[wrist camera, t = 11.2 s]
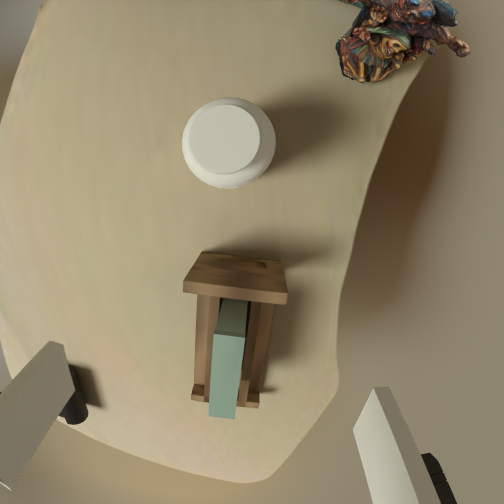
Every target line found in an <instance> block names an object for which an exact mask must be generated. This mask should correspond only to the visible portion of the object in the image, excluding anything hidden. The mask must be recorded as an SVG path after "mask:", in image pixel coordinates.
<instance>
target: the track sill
mask: <svg viewBox="0 0 504 504" xmlns="http://www.w3.org/2000/svg"><path fill="white" fill-rule="evenodd" d="M183 292H186V293H193V294H198V297H197V316H196V339H195V370H194V386H193V390H192V394H191V400H195V401H201V402H208V403H209V397H210V380H211V365H212V350H213V336H214V331H215V329H216V325H217V321H218V317H219V313H220V309H221V306H222V302H223V298H231V299H239V300H247V301H248V304H247V316H246V328H245V343H244V351H243V358H242V366H241V373H240V381H239V388H238V396H237V403H236V406H239V407H248V408H258V407H259V391H260V386H261V381H262V376H263V370H264V365H265V359H266V354H267V348H268V342H269V337H270V331H271V325H272V319H273V313H274V307H275V304H282V305H286V302H287V296H288V291H287V287H286V282H285V277H284V273H283V268H282V264H281V261H273V260H264V259H256V258H248V257H240V256H231V255H223V254H215V253H207V252H201V254H200V255H199V257H198V258H197V260H196V262H195V263H194V265H193V266H192V268H191V269H190V271H189V273H188V274H187V276H186V277H185V279H184V280H183Z"/></svg>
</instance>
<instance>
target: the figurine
mask: <svg viewBox="0 0 504 504" xmlns="http://www.w3.org/2000/svg"><path fill="white" fill-rule="evenodd" d="M341 1H342V2H344V3H346V4H350V3H351V2H353V3H354V4H356V3H358V2H360V3H362V4H364V6H363V7H362V9H361V11H360V13H359V15H358V16H357V17H356V19H355V21H354V22H353V25H352V28H351V29H350V30H349V31H348V32H347V33H346V34H345V35H344V36H345V37H344V36H343V37H341V40H338V42H337V43H336V50H337V52H338V55H339V59H340V66H341V69H342V75H343V76H345V77H349V78H350V79H352V80H354V79H356V80H357V81H359V82H361V83H364V82H365V81H366V82H375V81H380V80H382V79H383V78H384V77H386V76H387V75H388V74H389V73H390V72H393V71H394V70H396V71H397V70H398V69H399V68H400V64H401V63H402V64H404V63H406V62H408V61H411V60H416V59H417V57H419V55H421V54H422V53H423V51H424V52H425V51H427V52H428V54H430V55H435V52H436V49H435V48H434V46H432V45H431V44H430V41H429V39H432V40H435V41H436V43H437V45H441V44H447V45H448V46H449V48H451V49H452V50H453V51H454V52H456V55H457V56H459V57H465V56H467V55H468V54H469V53H470V51H471V50H470V48H469V46H468V45H467V44H466V43H465V42H463V41H462V40H460V39H457V38H456V37H454V36H453V37H452V35H451V33H450V32H449V31H448V28H446V27H445V26H449V27H454V26H456V25H457V23H458V22H457V21H456V20H455V15H456V13H457V11H456V10H455V9H453V7H452V6H450V4H447V3H446V2H444V1H443V0H341ZM394 57H395V60H391V59H392V58H394Z"/></svg>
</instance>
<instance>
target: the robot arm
mask: <svg viewBox="0 0 504 504" xmlns="http://www.w3.org/2000/svg"><path fill="white" fill-rule="evenodd" d="M74 391H75V388H74V385H73V381H72V378H71V374H70V370H69V367H68V363H67V359H66V355H65V351H64V346H63V344H59V343H56V342H53V341H49V342H48V343H47V344H46V345H45V346H44V347H43V348H42V349H41V350H40V351H39V352H38V353H37V354H36V355H35V356H34V358H33V359H32V360H31V361H30V362H29V363H28V364H27V365H26V366H25V367H24V368H23V369H22V370H21V371H20V373H19V374H18V375H17V376H16V377H15V378H14V379H13V380H12V381H11V382H10V384H9V385H8V386H7V387H6V388H5V389H4V390H3V391H2V392H0V484H2V485H3V486H5V487H6V488H8V489H10V490H11V491H12V490H13V488H14V487H15V485H16V483H17V481H18V480H19V478H20V476H21V474H22V473H23V471H24V469H25V468H26V466H27V464H28V463H29V461H30V459H31V458H32V456H33V454H34V453H35V451H36V450H37V448H38V446H39V445H40V443H41V441H42V440H43V438H44V437H45V435H46V434H47V432H48V431H49V429H50V427H51V426H52V424H53V423H54V421H55V420H56V418H57V417H58V415H59V414H60V412H61V411H62V409H63V408H64V406H65V405H66V403H67V402H68V400H69V399H70V397H71V396H72V394H73V393H74ZM353 432H354V435H355V438H356V442H357V445H358V449H359V453H360V456H361V460H362V463H363V467H364V471H365V474H366V478H367V482H368V486H369V490H370V493H371V497H372V501H373V504H457V503H456V500H455V498H454V495H453V493H452V491H451V488H450V486H449V484H448V482H447V481H446V477H445V475H444V473H443V470H442V468H441V466H440V464H439V462H438V461H437V459H436V458H435V457H434V456H433V455H432V454H431V453H426V454H421V455H420V452H419V450H418V448H417V445H416V443H415V441H414V439H413V437H412V435H411V432H410V430H409V428H408V426H407V424H406V421H405V419H404V417H403V415H402V413H401V411H400V409H399V407H398V405H397V402H396V400H395V398H394V396H393V394H392V392H391V390H390V388H389V387H374V388H373V389H372V391H371V394H370V396H369V398H368V400H367V402H366V404H365V406H364V408H363V410H362V413H361V415H360V417H359V419H358V421H357V423H356V425H355V426H354V428H353Z"/></svg>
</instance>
